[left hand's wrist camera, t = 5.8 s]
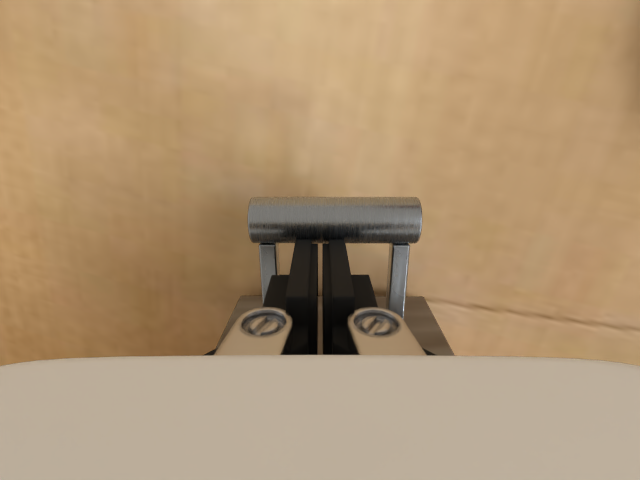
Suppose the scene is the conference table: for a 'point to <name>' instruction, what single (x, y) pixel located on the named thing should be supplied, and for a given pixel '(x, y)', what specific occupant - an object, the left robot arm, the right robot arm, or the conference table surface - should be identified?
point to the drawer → (354, 227)
